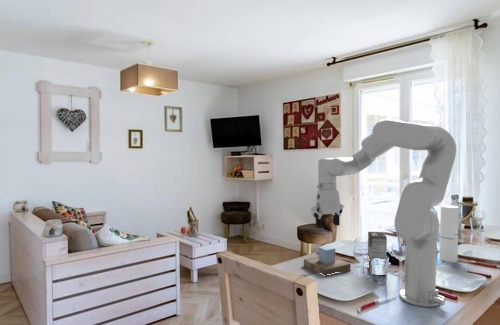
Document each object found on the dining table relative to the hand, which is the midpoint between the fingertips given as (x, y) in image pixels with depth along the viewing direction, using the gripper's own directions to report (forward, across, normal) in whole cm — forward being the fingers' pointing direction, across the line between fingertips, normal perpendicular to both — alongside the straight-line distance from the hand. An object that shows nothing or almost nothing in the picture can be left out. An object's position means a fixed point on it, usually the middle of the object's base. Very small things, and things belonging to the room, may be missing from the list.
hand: (327, 226), depth 145 cm
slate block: (+16, 0, +1) cm, 16 cm away
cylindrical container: (+19, +57, -17) cm, 62 cm away
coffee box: (+19, +16, -12) cm, 28 cm away
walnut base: (+18, 0, +1) cm, 19 cm away
